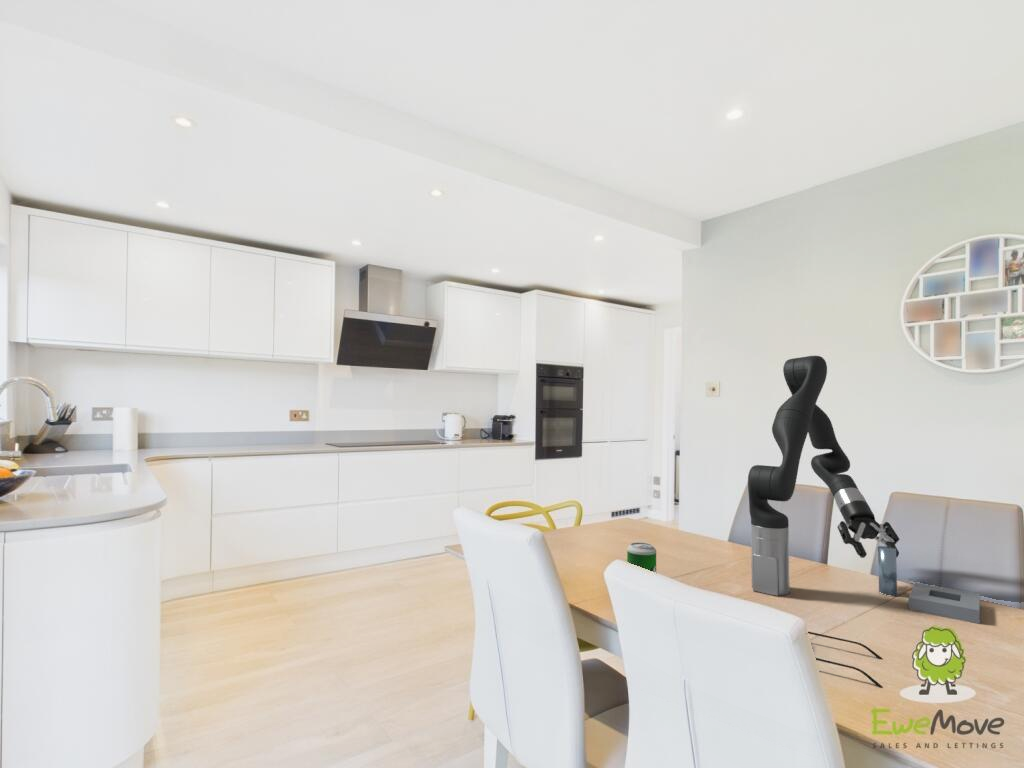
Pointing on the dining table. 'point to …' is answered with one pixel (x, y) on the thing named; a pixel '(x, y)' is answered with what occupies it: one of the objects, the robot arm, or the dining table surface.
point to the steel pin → (887, 570)
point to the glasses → (847, 665)
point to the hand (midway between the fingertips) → (880, 556)
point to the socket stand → (945, 602)
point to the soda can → (642, 555)
